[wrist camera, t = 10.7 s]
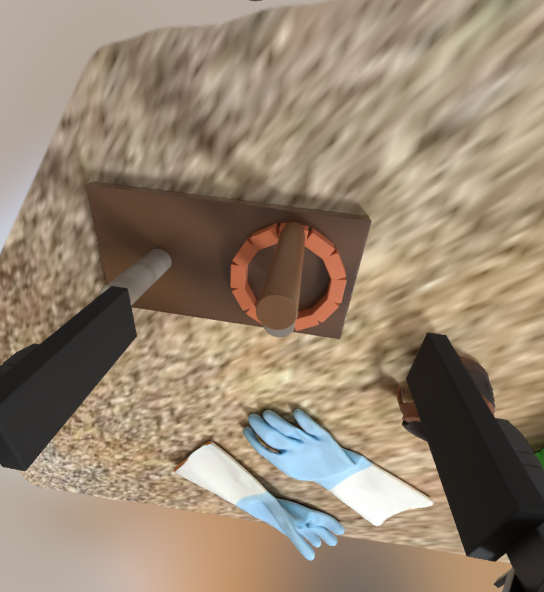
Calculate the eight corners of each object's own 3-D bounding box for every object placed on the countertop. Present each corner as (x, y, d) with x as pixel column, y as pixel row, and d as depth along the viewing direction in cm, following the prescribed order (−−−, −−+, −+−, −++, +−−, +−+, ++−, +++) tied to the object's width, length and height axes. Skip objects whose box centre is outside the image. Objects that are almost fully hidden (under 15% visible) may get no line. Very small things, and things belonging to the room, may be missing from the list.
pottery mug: (494, 396, 36) (489, 467, 32) (410, 378, 42) (396, 436, 37) (501, 338, 28) (496, 421, 24) (397, 325, 34) (378, 391, 30)
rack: (95, 181, 29) (7, 205, 20) (369, 216, 27) (391, 256, 19) (118, 297, 35) (58, 350, 27) (339, 331, 34) (346, 397, 25)
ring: (235, 211, 27) (173, 279, 15) (356, 227, 26) (388, 310, 14) (232, 314, 32) (186, 421, 21) (332, 329, 32) (340, 448, 20)
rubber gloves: (277, 387, 39) (270, 431, 34) (433, 498, 47) (449, 548, 41) (175, 463, 52) (158, 504, 46) (312, 541, 60) (311, 583, 54)
